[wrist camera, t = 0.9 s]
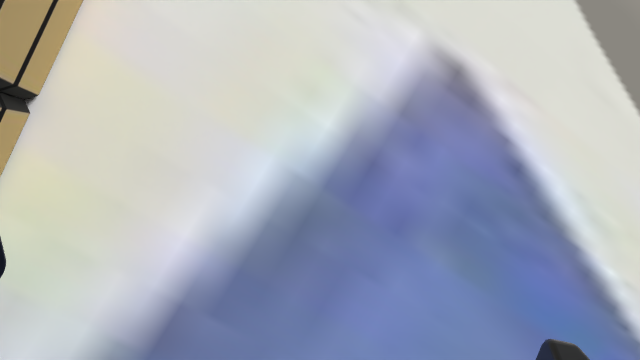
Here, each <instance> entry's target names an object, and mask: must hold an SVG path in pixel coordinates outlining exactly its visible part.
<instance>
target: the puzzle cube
mask: <svg viewBox="0 0 640 360" xmlns="http://www.w3.org/2000/svg"><path fill="white" fill-rule="evenodd" d="M82 1H83V0H0V176H1V174H2V172H3V170H4V168H5V165H6V163H7V161H8V159H9V157H10V155H11V153H12V151H13V148H14V146H15V144H16V142H17V140H18V138H19V136H20V133H21V131H22V129H23V127H24V125H25V123H26V121H27V119H28V116H29V114H30V112H29V109H28V107H27V105H26V103H25V101H24V100H25V99H28V98H32V97H35V96H38V95H39V93H40V91H41V89H42V87H43V85H44V83H45V80H46V78H47V76H48V74H49V72H50V70H51V68H52V65H53V63H54V61H55V59H56V57H57V55H58V53H59V51H60V48H61V46H62V44H63V42H64V40H65V38H66V36H67V33H68V31H69V29H70V27H71V25H72V23H73V21H74V19H75V16H76V14H77V12H78V10H79V8H80V6H81V4H82ZM17 97H18V98H17ZM20 98H21V99H20ZM22 99H24V100H22Z"/></svg>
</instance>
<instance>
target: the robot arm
mask: <svg viewBox="0 0 640 360" xmlns="http://www.w3.org/2000/svg"><path fill="white" fill-rule="evenodd" d="M5 267H6V258H5V254H4V250H3V245H2V241H1V237H0V278H1V276H2V275H3V273H4V270H5ZM536 360H590V359H589V358H588V357H587V356H586V355H585V354H584V353H583V351H582V350H581V349H580V348H579V347H578V346H576V345H575V344H572V343H568V342H564V341H559V340H554V339H548V340H545V342H544V343H543V344H542V346H541V348H540V351H539V353H538V355H537V358H536Z"/></svg>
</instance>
